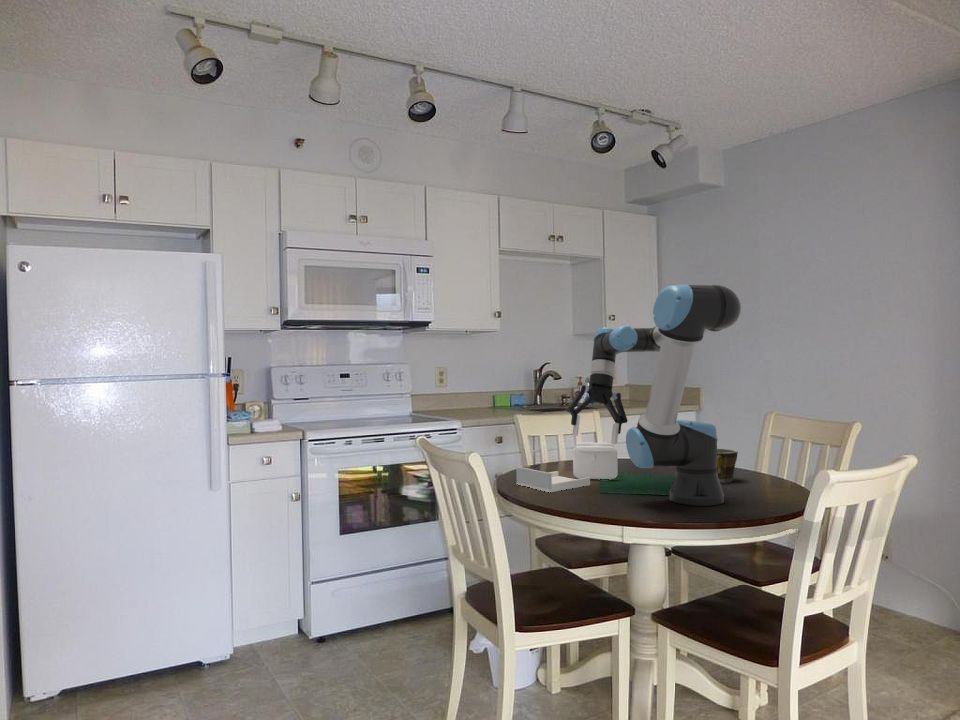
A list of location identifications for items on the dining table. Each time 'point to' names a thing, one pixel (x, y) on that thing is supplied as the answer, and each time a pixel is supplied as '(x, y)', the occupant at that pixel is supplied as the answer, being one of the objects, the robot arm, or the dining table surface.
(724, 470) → the ceramic cup
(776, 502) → the dining table surface
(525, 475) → the tray
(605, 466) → the cable organizer
